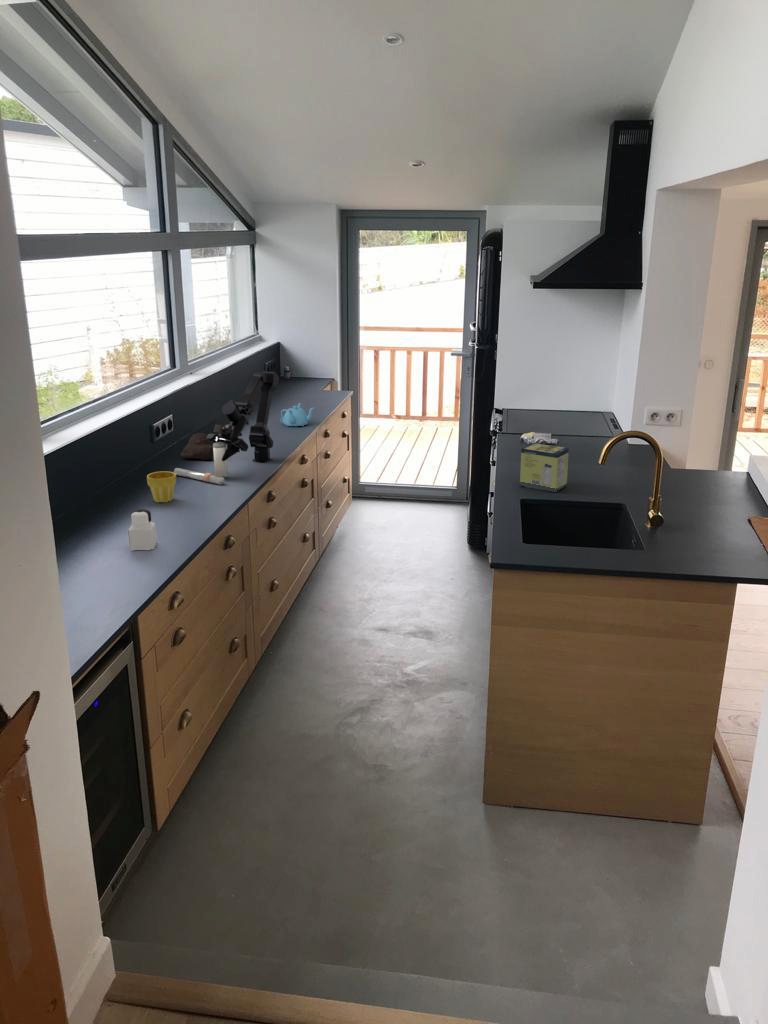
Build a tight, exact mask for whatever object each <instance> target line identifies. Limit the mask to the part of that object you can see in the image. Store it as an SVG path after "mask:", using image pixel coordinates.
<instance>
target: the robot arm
mask: <svg viewBox="0 0 768 1024" xmlns="http://www.w3.org/2000/svg"><path fill="white" fill-rule="evenodd" d="M279 382H280V376H279V375H278V373H277V372H275V371H261V372H254V373H253V374H252V378H251V380H250V382H249V384H248V385H247V387H246V390H245V391H244V393H243V394H242V395H241V396H239V397H237V399H236V400H229V401H228V402H226V403H224V405H223V406H221V407H222V408H221V413H222V414H223V415H224V416H225V418H226V419H227V420H228V422H229V424H226V425H221V424H215V425H214V429H213V433H211V432H210V433H208V434H207V435H208V436H207V437H206V439H207V440H208V441H210V442H211V443H212V444H213V443H217V442H224V443H226V451H225V453H224V455H223V458H222V461H225V460H227V461H228V459H230V457H231V458H232V457H233V456H234V455H236V454H237V453H240V452H244V453H245V452H247V451H248V449H249V446H250V447H251V448H254V459H252V462H256V463H267V462H270V461H273V460H274V458H271V453H270V451H271V449H272V448H273V447H274V440H273V439H272V438H271V434H270V433H271V432H270V430H269V427H268V421H269V416H270V409H271V402H272V395H273V393H274V392H275V391H276V390H277V388H278V384H279ZM259 392H260V395H259V400H258V401H259V402H258V408H257V415H256V420H255V423H254V425H251V426H250V428H249V429H250V430H249V435H248V440H249V444H250V445H249V444H248V443H247V441H245V440H244V439H243V438H239V437H242V436H243V433H242V432H243V430H244V428H245V426H248V425H249V424H250V423H249V418H248V417H246V416H251V415H252V414H253V412H254V409H255V400H256V398H257V396H258V394H259ZM216 433H217V434H216ZM212 460H214V453H213V456H212Z"/></svg>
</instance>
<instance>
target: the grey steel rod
mask: <svg viewBox="0 0 768 1024" xmlns="http://www.w3.org/2000/svg"><path fill="white" fill-rule="evenodd" d="M173 473H175V474H176V476H180V477H183V478H187V479H188V478H189V479H193V480H197V481H201V480H202V481H203V482H207V483H211V484H215V485H216V484H217V485H221V486H223V485H224V484H225V482H226V479H225V478H224V476H223V477H219V476H215V473H211V472H206V473H203V472H199V471H194V470H189V469H184V468H179V467H175V468H174V470H173ZM222 484H223V485H222Z"/></svg>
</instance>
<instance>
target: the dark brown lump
mask: <svg viewBox="0 0 768 1024" xmlns="http://www.w3.org/2000/svg"><path fill="white" fill-rule="evenodd" d="M207 436H208V434H206V433H205V432H197V433H194V434H192V435H191V437H190V438H189V440H188V443H187V444H186V445H185V446H184V448H183V449H182V451H181V453H180V456H181V457H183V458H184V459H188V460H193V459H194V460H195V459H198V460H203V461H212V460H213V459H212V456H213V444H212V443H211V442H210V441H208V440H207V439H206V437H207Z"/></svg>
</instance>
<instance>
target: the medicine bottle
mask: <svg viewBox="0 0 768 1024" xmlns="http://www.w3.org/2000/svg"><path fill="white" fill-rule="evenodd" d="M130 523H131V525H130V527H129V528H128V541H129V549H130V551H131V552H134V551H133V550H146V549H154V550H155V548H156V546H157V544H158V535H157V526H156V522H154V521H152V515H151V511H150V510H149V509H146V508H145V509H144V508H142V509H141V508H140V509H139V508H138V509H135V510H133V511H132V512H130ZM156 543H157V544H156ZM155 545H156V546H155ZM154 547H155V548H154Z"/></svg>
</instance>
